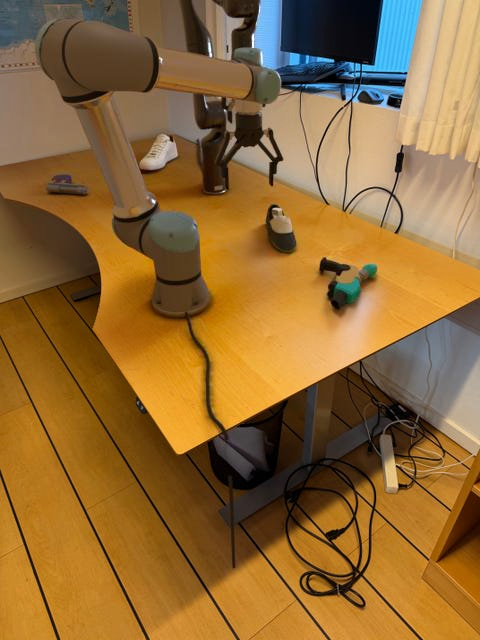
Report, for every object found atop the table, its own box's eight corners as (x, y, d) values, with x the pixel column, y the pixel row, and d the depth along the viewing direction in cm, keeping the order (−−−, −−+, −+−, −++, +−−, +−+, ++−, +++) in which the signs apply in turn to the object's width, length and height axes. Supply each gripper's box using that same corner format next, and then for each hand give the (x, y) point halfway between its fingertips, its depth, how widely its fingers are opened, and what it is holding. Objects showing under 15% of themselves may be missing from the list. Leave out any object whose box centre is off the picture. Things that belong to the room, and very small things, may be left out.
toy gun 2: (296, 289, 121) (353, 304, 115) (329, 248, 140) (380, 259, 134) (295, 304, 124) (351, 319, 118) (328, 261, 142) (377, 273, 136)
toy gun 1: (101, 183, 198) (84, 197, 186) (60, 181, 201) (41, 194, 189) (99, 174, 195) (82, 188, 184) (58, 172, 199) (39, 185, 187)
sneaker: (133, 173, 208) (129, 144, 201) (161, 153, 230) (158, 127, 223) (155, 175, 205) (151, 146, 198) (180, 155, 227) (178, 129, 220)
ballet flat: (274, 254, 146) (275, 230, 141) (257, 222, 165) (258, 200, 161) (300, 252, 147) (302, 227, 143) (280, 220, 167) (281, 198, 162)
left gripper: (289, 106, 136) (286, 178, 149) (202, 111, 133) (207, 185, 146) (295, 112, 130) (292, 187, 143) (205, 117, 127) (209, 194, 140)
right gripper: (262, 64, 152) (261, 118, 161) (218, 66, 150) (220, 120, 159) (268, 68, 146) (267, 123, 155) (222, 70, 144) (224, 126, 153)
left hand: (249, 186), depth 144 cm, fingers open, 13 cm apart
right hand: (243, 122), depth 157 cm, fingers open, 8 cm apart
